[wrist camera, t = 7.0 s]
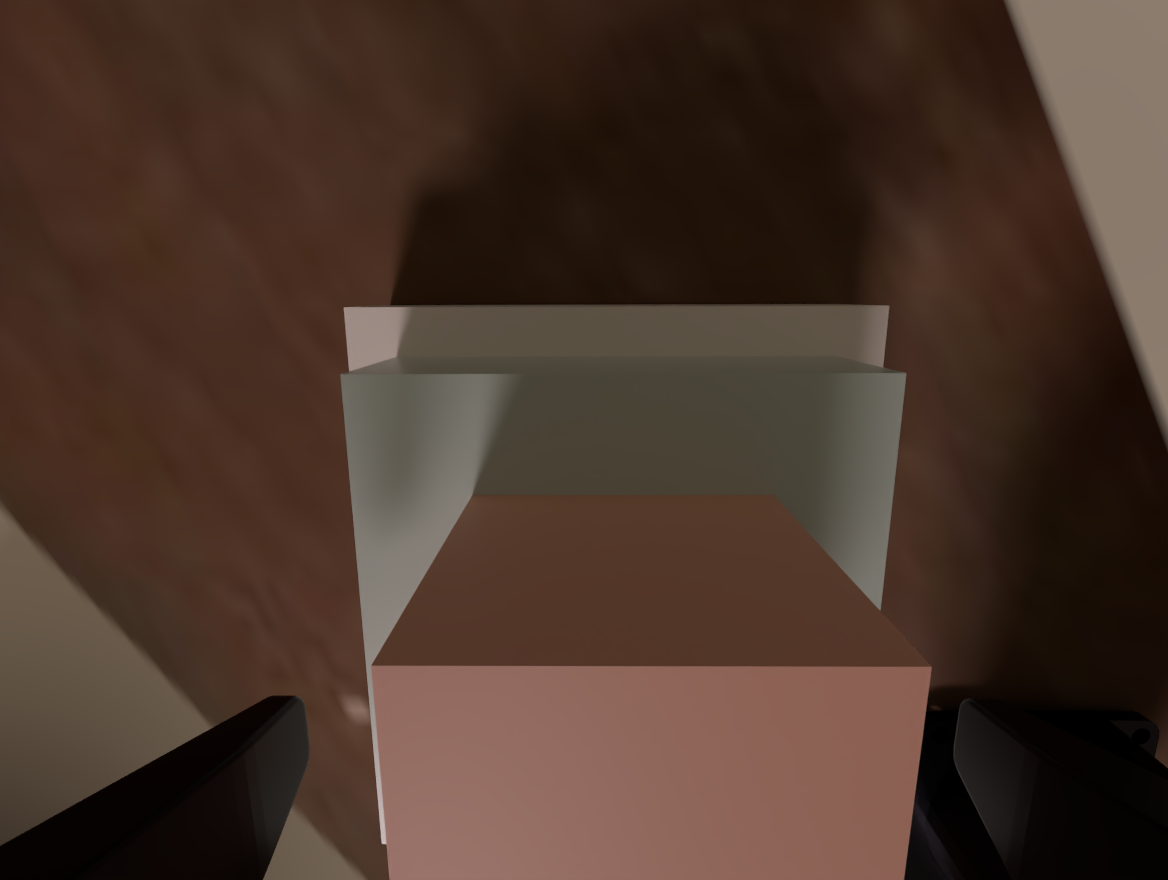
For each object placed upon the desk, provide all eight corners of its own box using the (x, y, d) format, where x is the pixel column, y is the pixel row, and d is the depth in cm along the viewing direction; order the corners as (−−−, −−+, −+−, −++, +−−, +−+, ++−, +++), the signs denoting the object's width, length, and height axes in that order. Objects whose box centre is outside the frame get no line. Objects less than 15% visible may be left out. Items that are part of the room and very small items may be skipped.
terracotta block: (756, 756, 12) (876, 1088, 7) (484, 754, 12) (407, 1083, 7) (773, 494, 11) (931, 667, 6) (472, 495, 11) (370, 665, 6)
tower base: (800, 697, 18) (901, 889, 12) (416, 696, 18) (334, 886, 12) (833, 303, 16) (978, 308, 10) (389, 304, 16) (271, 310, 10)
